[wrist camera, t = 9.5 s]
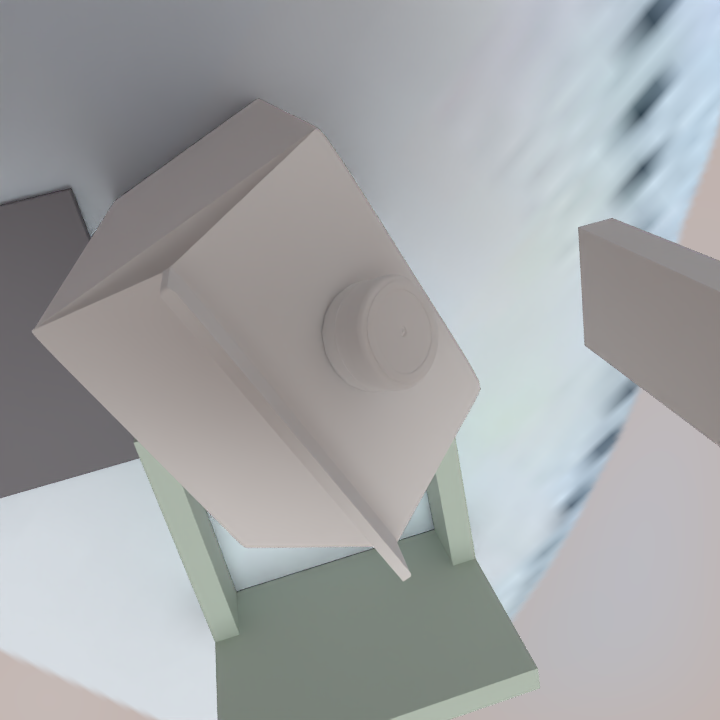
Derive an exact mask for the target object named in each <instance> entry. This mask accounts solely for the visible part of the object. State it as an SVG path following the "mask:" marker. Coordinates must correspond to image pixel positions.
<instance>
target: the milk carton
mask: <svg viewBox="0 0 720 720" xmlns="http://www.w3.org/2000/svg"><path fill="white" fill-rule="evenodd" d="M32 333H33V334H34V336H35V337H36V338H37V339H38V340H39V341H40V342H41V343H42V344H43V345H44V346H45V347H46V349H47V350H48V351H49V352H50V353H51V354H52V355H53V356H54V357H55V358H56V359H57V360H58V361H59V362H60V363H61V364H62V365H63V366H64V367H65V368H66V369H67V370H68V371H69V372H70V373H71V374H72V375H73V376H74V377H75V378H76V379H77V380H78V381H79V382H80V383H81V384H82V385H83V386H84V387H85V388H86V389H87V390H88V391H89V392H90V393H91V394H92V395H93V396H94V397H95V398H96V399H97V400H98V401H99V402H100V403H101V404H102V405H103V406H104V407H105V408H106V409H107V410H108V411H109V412H110V413H111V414H112V415H113V416H114V417H115V418H116V419H117V420H118V421H119V422H120V423H121V424H122V425H123V426H124V427H125V428H126V429H127V431H128V432H129V433H130V434H131V435H132V436H133V437H134V438H135V439H136V440H137V441H138V442H139V443H140V444H141V445H142V446H143V447H144V448H145V449H146V450H147V451H148V452H149V453H150V454H151V455H152V456H153V457H154V458H155V459H156V460H157V461H158V462H159V463H160V464H161V465H162V466H163V467H164V468H165V469H166V470H167V471H168V472H169V473H170V474H171V475H172V476H173V477H174V478H175V479H176V480H177V481H178V482H179V483H180V484H181V485H182V486H183V487H184V488H185V489H186V490H187V491H188V492H189V493H190V494H191V495H192V496H193V497H194V498H195V499H196V500H197V501H198V502H199V503H200V504H201V505H202V506H203V507H204V508H205V509H206V510H207V511H208V512H209V513H210V514H211V515H212V516H213V517H214V518H215V519H216V520H217V521H218V522H219V523H220V524H221V525H222V526H223V527H224V528H225V529H226V530H227V531H228V532H229V533H230V534H231V535H232V536H233V537H234V538H235V539H236V540H237V541H238V542H239V543H240V544H241V545H242V546H244V547H245V548H294V547H374V548H375V549H376V550H377V552H378V553H379V554H380V555H381V556H382V557H383V559H384V560H385V561H386V562H387V563H388V564H389V566H390V567H391V568H392V569H393V570H394V572H395V573H396V574H397V575H398V576H399V577H400V579H401V580H402V581H405V580H406V579H408V578H409V577H411V573H410V571H409V569H408V567H407V564H406V562H405V560H404V557H403V555H402V552H401V550H400V548H399V546H398V543H397V542H398V540H399V539H400V537H401V535H402V533H403V531H404V529H405V528H406V526H407V524H408V522H409V520H410V519H411V517H412V515H413V513H414V511H415V509H416V508H417V506H418V504H419V502H420V500H421V498H422V497H423V495H424V493H425V491H426V489H427V487H428V486H429V484H430V482H431V480H432V478H433V476H434V475H435V473H436V471H437V469H438V467H439V466H440V464H441V462H442V460H443V458H444V456H445V455H446V453H447V451H448V449H449V447H450V445H451V444H452V442H453V440H454V438H455V436H456V434H457V433H458V431H459V429H460V427H461V425H462V424H463V422H464V420H465V418H466V416H467V414H468V413H469V411H470V409H471V407H472V405H473V403H474V402H475V400H476V398H477V396H478V394H479V392H480V389H481V388H480V384H479V380H478V378H477V376H476V374H475V372H474V371H473V369H472V367H471V365H470V364H469V362H468V360H467V358H466V357H465V355H464V354H463V352H462V350H461V349H460V347H459V345H458V344H457V342H456V340H455V339H454V337H453V336H452V334H451V332H450V331H449V329H448V328H447V326H446V324H445V323H444V321H443V320H442V318H441V317H440V315H439V313H438V312H437V310H436V309H435V307H434V305H433V304H432V302H431V301H430V299H429V297H428V296H427V294H426V293H425V291H424V290H423V288H422V286H421V285H420V283H419V282H418V280H417V278H416V277H415V275H414V274H413V272H412V270H411V269H410V267H409V266H408V264H407V263H406V261H405V259H404V258H403V256H402V255H401V253H400V251H399V250H398V248H397V247H396V245H395V243H394V242H393V240H392V239H391V237H390V236H389V234H388V232H387V231H386V229H385V228H384V226H383V224H382V223H381V221H380V220H379V218H378V216H377V215H376V213H375V212H374V210H373V208H372V207H371V205H370V204H369V202H368V201H367V199H366V197H365V196H364V194H363V193H362V191H361V189H360V188H359V186H358V185H357V183H356V182H355V180H354V178H353V177H352V175H351V174H350V172H349V171H348V169H347V168H346V166H345V164H344V163H343V161H342V160H341V158H340V157H339V155H338V154H337V152H336V151H335V149H334V148H333V146H332V145H331V143H330V142H329V141H328V139H327V138H326V137H325V135H324V134H323V133H322V131H320V130H319V129H318V128H317V127H315V126H313V125H312V124H310V123H308V122H306V121H304V120H302V119H300V118H298V117H296V116H293V115H291V114H289V113H287V112H285V111H283V110H281V109H279V108H277V107H275V106H273V105H271V104H269V103H267V102H265V101H263V100H261V99H256V100H255V101H253V102H252V103H251V104H249V105H248V106H246V107H245V108H244V109H242V110H241V111H240V112H238V113H237V114H235V115H234V116H233V117H231V118H230V119H228V120H227V121H226V122H224V123H223V124H221V125H220V126H219V127H217V128H216V129H214V130H213V131H212V132H210V133H209V134H207V135H206V136H205V137H203V138H202V139H201V140H199V141H198V142H196V143H195V144H194V145H192V146H191V147H189V148H188V149H187V150H185V151H184V152H182V153H181V154H180V155H178V156H177V157H175V158H174V159H173V160H171V161H170V162H168V163H167V164H166V165H164V166H163V167H162V168H160V169H159V170H157V171H156V172H155V173H153V174H152V175H150V176H149V177H148V178H146V179H145V180H143V181H142V182H141V183H139V184H138V185H136V186H135V187H134V188H132V189H131V190H129V191H128V192H127V193H125V194H124V195H123V196H121V197H120V198H118V199H117V200H116V201H114V203H113V204H112V206H111V207H110V209H109V211H108V212H107V214H106V215H105V217H104V219H103V220H102V222H101V223H100V225H99V226H98V228H97V230H96V231H95V233H94V234H93V236H92V238H91V239H90V241H89V242H88V244H87V246H86V247H85V249H84V250H83V252H82V254H81V255H80V257H79V258H78V260H77V261H76V263H75V265H74V266H73V268H72V269H71V271H70V273H69V274H68V276H67V277H66V279H65V281H64V282H63V284H62V285H61V287H60V288H59V290H58V292H57V293H56V295H55V296H54V298H53V300H52V301H51V303H50V304H49V306H48V308H47V309H46V311H45V312H44V314H43V315H42V317H41V319H40V320H39V322H38V323H37V325H36V327H35V328H34V329H33V330H32Z"/></svg>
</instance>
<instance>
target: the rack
mask: <svg viewBox="0 0 720 720" xmlns="http://www.w3.org/2000/svg"><path fill="white" fill-rule="evenodd" d="M134 445H135V448H136V450H137V453H138V455H139V457H140V460H141V462H142V465H143V467H144V470H145V472H146V475H147V477H148V479H149V482H150V484H151V487H152V489H153V492H154V494H155V497H156V499H157V501H158V504H159V506H160V509H161V511H162V514H163V516H164V519H165V521H166V523H167V526H168V528H169V531H170V533H171V536H172V538H173V540H174V543H175V545H176V548H177V550H178V553H179V555H180V558H181V560H182V562H183V565H184V567H185V570H186V572H187V575H188V577H189V580H190V582H191V584H192V587H193V589H194V592H195V594H196V597H197V599H198V602H199V604H200V606H201V609H202V611H203V614H204V616H205V619H206V621H207V624H208V626H209V628H210V631H211V633H212V636H213V638H214V641H215V649H216V682H217V714H218V720H450V719H453V718H456V717H459V716H461V715H465V714H467V713H470V712H473V711H476V710H479V709H482V708H484V707H487V706H490V705H493V704H496V703H499V702H502V701H505V700H508V699H510V698H513V697H516V696H519V695H522V694H525V693H528V692H530V691H533V690H536V689H539V688H540V682H539V675H538V668H537V666H536V664H535V663H534V661H533V659H532V657H531V656H530V654H529V652H528V650H527V649H526V647H525V645H524V643H523V642H522V640H521V638H520V636H519V635H518V633H517V631H516V629H515V627H514V626H513V624H512V622H511V620H510V619H509V617H508V615H507V613H506V612H505V610H504V608H503V606H502V604H501V603H500V601H499V599H498V597H497V596H496V594H495V592H494V590H493V589H492V587H491V585H490V583H489V582H488V580H487V578H486V576H485V574H484V573H483V571H482V569H481V567H480V566H479V564H478V562H477V560H476V558H475V552H474V546H473V540H472V534H471V528H470V522H469V516H468V510H467V504H466V498H465V492H464V486H463V480H462V474H461V468H460V462H459V456H458V450H457V444H456V439H455V438H454V440H453V442H452V444H451V445H450V447H449V449H448V451H447V453H446V455H445V456H444V458H443V460H442V462H441V464H440V466H439V467H438V469H437V471H436V473H435V475H434V476H433V478H432V480H431V482H430V484H429V486H428V487H427V494H428V499H429V504H430V509H431V514H432V519H433V524H434V529H435V530H431V531H428V532H425V533H422V534H419V535H416V536H412V537H409V538H406V539H403V540H400V541H398V542H397V543H398V546H399V548H400V550H401V552H402V555H403V557H404V560H405V562H406V564H407V567H408V569H409V571H410V573H411V577H409V578H408V579H406V580H405V581H402V580H401V579H400V577H399V576H398V575H397V574H396V573H395V572H394V570H393V569H392V568H391V567H390V566H389V564H388V563H387V562H386V561H385V560H384V559H383V557H382V556H381V555H380V554H379V553H378V552H377V550H376V549H375V548H374V549H371V550H368V551H365V552H362V553H358V554H355V555H352V556H349V557H346V558H343V559H339V560H336V561H333V562H330V563H327V564H324V565H320V566H317V567H314V568H311V569H308V570H305V571H301V572H298V573H295V574H292V575H289V576H285V577H282V578H279V579H276V580H273V581H270V582H266V583H263V584H260V585H257V586H254V587H251V588H247V589H244V590H241V591H238V592H236V590H235V587H234V584H233V582H232V579H231V576H230V573H229V571H228V568H227V565H226V563H225V560H224V557H223V555H222V552H221V549H220V547H219V544H218V541H217V539H216V536H215V533H214V531H213V528H212V525H211V523H210V520H209V517H208V515H207V512H206V509H205V508H204V507H203V506H202V505H201V504H200V503H199V502H198V501H197V500H196V499H195V498H194V497H193V496H192V495H191V494H190V493H189V492H188V491H187V490H186V489H185V488H184V487H183V486H182V485H181V484H180V483H179V482H178V481H177V480H176V479H175V478H174V477H173V476H172V475H171V474H170V473H169V472H168V471H167V470H166V469H165V468H164V467H163V466H162V465H161V464H160V463H159V462H158V461H157V460H156V459H155V458H154V457H153V456H152V455H151V454H150V453H149V452H148V451H147V450H146V449H145V448H144V447H143V446H142V445H141V444H140V443H139V442H138V441H137V440H136V439H135V438H134Z"/></svg>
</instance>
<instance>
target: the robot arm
mask: <svg viewBox="0 0 720 720" xmlns="http://www.w3.org/2000/svg"><path fill="white" fill-rule="evenodd" d="M578 232H579V250H580V268H581V287H582V305H583V324H584V342H585V346H586V347H588V348H589V349H590V350H592V351H593V352H594V353H596V354H597V355H598V356H600V357H601V358H602V359H604V360H605V361H606V362H608V363H609V364H610V365H612V366H613V367H614V368H616V369H617V370H618V371H620V372H621V373H622V374H624V375H625V376H626V377H628V378H629V379H630V380H632V381H633V382H634V383H635V384H637V385H638V386H639V387H641V388H642V389H643V390H645V391H646V392H648V393H649V394H650V395H651V396H653V397H654V398H655V399H657V400H658V401H659V402H661V403H663V404H664V405H665V406H666V407H667V408H669V409H670V410H671V411H673V412H674V413H676V414H677V415H678V416H680V417H681V418H682V419H684V420H685V421H686V422H687V423H689V424H690V425H692V426H693V427H694V428H696V429H697V430H698V431H699V432H701V433H702V434H703V435H705V436H706V437H707V438H709V439H710V440H712V441H713V442H714V443H715V444H717V445H718V446H719V447H720V261H719V260H717V259H714V258H712V257H709V256H707V255H704V254H702V253H699V252H697V251H694V250H691V249H689V248H686V247H684V246H681V245H679V244H676V243H674V242H671V241H669V240H666V239H664V238H661V237H659V236H656V235H654V234H651V233H649V232H646V231H644V230H641V229H639V228H636V227H634V226H631V225H629V224H626V223H624V222H621V221H618V220H616V219H613V218H610V219H607V220H603V221H599V222H596V223H592V224H588V225H584V226H581V227H578Z"/></svg>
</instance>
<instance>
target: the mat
mask: <svg viewBox="0 0 720 720" xmlns="http://www.w3.org/2000/svg"><path fill="white" fill-rule="evenodd" d="M90 239H91V238H90V236H89V233H88V230H87V228H86V225H85V223H84V220H83V217H82V215H81V212H80V210H79V207H78V204H77V202H76V199H75V197H74V194H73V191H72V189H71V188H70V189H66V190H61V191H57V192H53V193H49V194H45V195H41V196H36V197H32V198H28V199H24V200H20V201H16V202H11V203H7V204H3V205H0V498H3V497H6V496H10V495H13V494H17V493H20V492H24V491H27V490H31V489H34V488H37V487H41V486H44V485H48V484H51V483H55V482H58V481H62V480H65V479H69V478H72V477H76V476H79V475H83V474H86V473H90V472H93V471H97V470H100V469H103V468H107V467H110V466H114V465H117V464H121V463H124V462H128V461H131V460H135V459H138V458H140V457H139V455H138V453H137V450H136V448H135V445H134V437H133V436H132V435H131V434H130V433H129V432H128V431H127V429H126V428H125V427H124V426H123V425H122V424H121V423H120V422H119V421H118V420H117V419H116V418H115V417H114V416H113V415H112V414H111V413H110V412H109V411H108V410H107V409H106V408H105V407H104V406H103V405H102V404H101V403H100V402H99V401H98V400H97V399H96V398H95V397H94V396H93V395H92V394H91V393H90V392H89V391H88V390H87V389H86V388H85V387H84V386H83V385H82V384H81V383H80V382H79V381H78V380H77V379H76V378H75V377H74V376H73V375H72V374H71V373H70V372H69V371H68V370H67V369H66V368H65V367H64V366H63V365H62V364H61V363H60V362H59V361H58V360H57V359H56V358H55V357H54V356H53V355H52V354H51V353H50V352H49V351H48V350H47V349H46V347H45V346H44V345H43V344H42V343H41V342H40V341H39V340H38V339H37V338H36V337H35V336H34V334H33V333H32V330H33V329H34V328H35V327H36V325H37V323H38V322H39V320H40V319H41V317H42V315H43V314H44V312H45V311H46V309H47V308H48V306H49V304H50V303H51V301H52V300H53V298H54V296H55V295H56V293H57V292H58V290H59V288H60V287H61V285H62V284H63V282H64V281H65V279H66V277H67V276H68V274H69V273H70V271H71V269H72V268H73V266H74V265H75V263H76V261H77V260H78V258H79V257H80V255H81V254H82V252H83V250H84V249H85V247H86V246H87V244H88V242H89V241H90Z"/></svg>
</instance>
